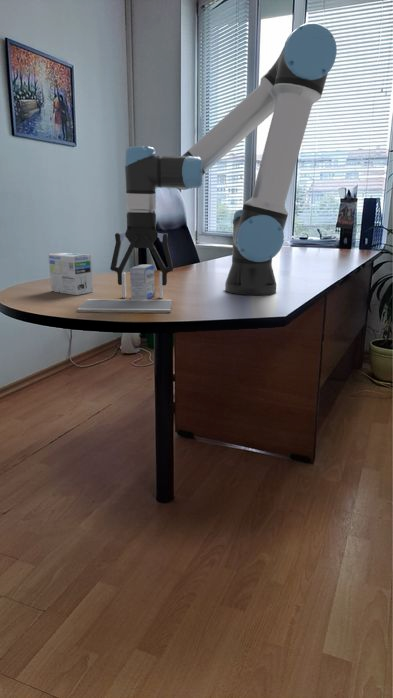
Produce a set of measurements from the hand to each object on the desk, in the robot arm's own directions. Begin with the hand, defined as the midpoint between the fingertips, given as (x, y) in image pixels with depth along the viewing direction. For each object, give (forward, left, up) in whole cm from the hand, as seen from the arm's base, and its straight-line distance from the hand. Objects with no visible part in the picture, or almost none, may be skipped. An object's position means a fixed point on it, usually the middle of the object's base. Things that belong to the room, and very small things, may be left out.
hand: (142, 297), depth 130 cm
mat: (+3, +12, 0) cm, 12 cm away
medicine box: (0, 0, 0) cm, 0 cm away
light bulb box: (+21, -8, 0) cm, 22 cm away
